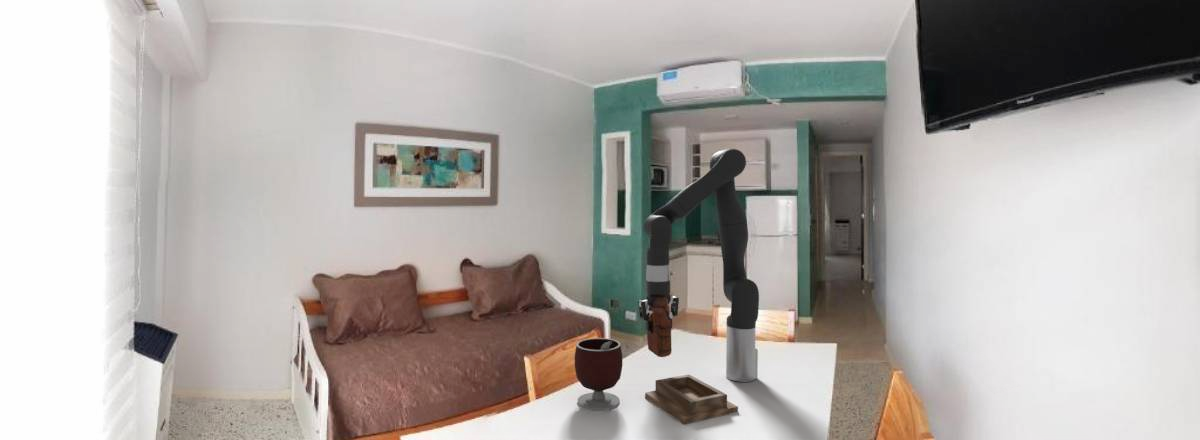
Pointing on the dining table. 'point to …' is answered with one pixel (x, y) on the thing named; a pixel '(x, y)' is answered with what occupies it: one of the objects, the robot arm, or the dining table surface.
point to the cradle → (690, 399)
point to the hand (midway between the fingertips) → (659, 331)
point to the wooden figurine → (660, 328)
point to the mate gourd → (598, 372)
